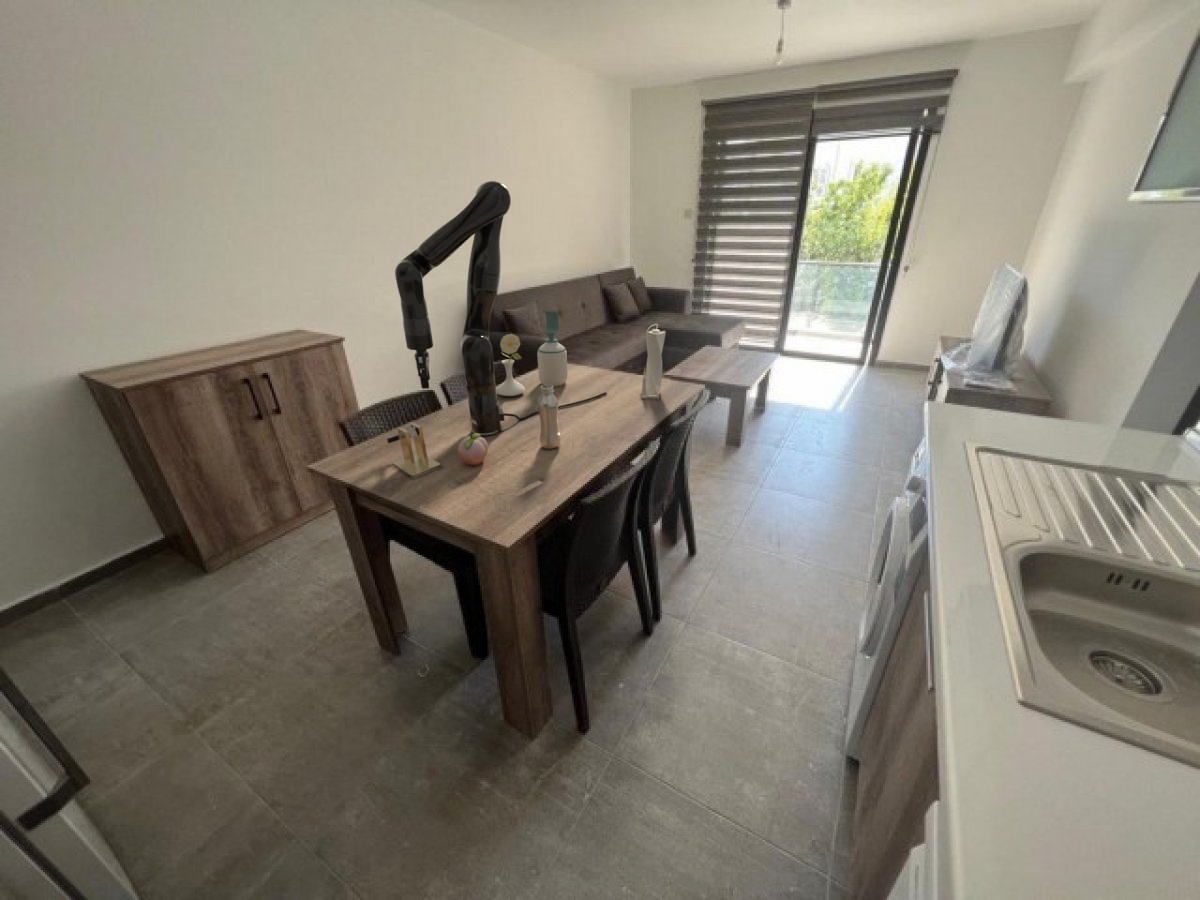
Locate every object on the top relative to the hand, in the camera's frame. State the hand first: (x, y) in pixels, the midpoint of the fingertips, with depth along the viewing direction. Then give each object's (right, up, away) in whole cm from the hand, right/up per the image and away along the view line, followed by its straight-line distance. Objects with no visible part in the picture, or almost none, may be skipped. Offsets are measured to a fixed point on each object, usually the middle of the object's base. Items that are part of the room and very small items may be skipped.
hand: (426, 383), depth 150 cm
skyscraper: (+75, +1, +43) cm, 87 cm away
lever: (-2, -18, -11) cm, 21 cm away
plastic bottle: (+39, -20, +2) cm, 44 cm away
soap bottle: (+34, +8, +57) cm, 67 cm away
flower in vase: (+19, +2, +45) cm, 49 cm away
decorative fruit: (+18, -25, -9) cm, 32 cm away
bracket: (+1, -26, -10) cm, 28 cm away
